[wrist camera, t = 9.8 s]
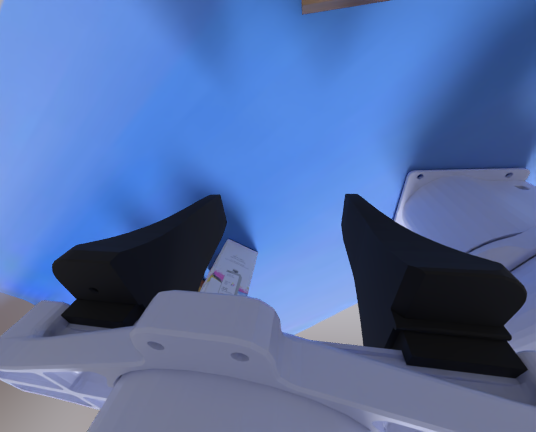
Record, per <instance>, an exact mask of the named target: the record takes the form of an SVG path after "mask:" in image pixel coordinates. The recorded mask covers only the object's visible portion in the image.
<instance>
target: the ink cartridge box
mask: <svg viewBox="0 0 536 432" xmlns="http://www.w3.org/2000/svg"><path fill="white" fill-rule="evenodd" d="M257 255H258V252H256V251H253V250H251V249H249V248H247V247H245V246H243V245H241V244H239V243H236V242H234V241H232V240H230V239H228V240H227V241H226V243H225V245H224V246H223V248H222V250H221V252H220V254H219V255H218V257H217V259H216V261H215V263H214V265H213V267H212V268H211V270H210V272H209V274H208V276H207V278H206V280H205V282H204V284H203V286H202V288H201V290H200V292H206V293H219V294H231V295H243V296H247V295H248V291H249V286H250V282H251V278H252V274H253V271H254V266H255V262H256V258H257Z"/></svg>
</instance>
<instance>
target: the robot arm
mask: <svg viewBox="0 0 536 432" xmlns="http://www.w3.org/2000/svg"><path fill="white" fill-rule="evenodd" d="M508 173H509V174H508ZM420 174H422V175H421V177H419V178H417V176H418V175H420ZM506 174H508V175H507V176H505V175H506ZM529 174H530V171H529V170H528V169H525V168H502V169H457V170H414V171H411V172H409V173H408V175H407V178H406V181H405V184H404V188H403V191H402V194H401V198H400V201H399V204H398V208H397V211H396V214H395V218H394V221H393V220H392V219H390V218H389V217H387V216H386V215H384V214H383V213H382V212H380V211H379V210H377V209H376V208H375V207H373V206H372V205H371V204H370V203H368V202H367V201H366V200H365V199H363V198H362V197H361V196H359V195H358V194H345V201H344V208H343V215H342V223H341V226H342V234H343V240H344V244H345V248H346V251H347V255H348V258H349V262H350V265H351V269H352V272H353V276H354V281H355V287H356V293H357V300H358V307H359V313H360V321H361V328H362V337H363V346H357V345H348V344H339V343H331V342H321V341H313V340H308V339H304V338H301V337H298V336H294V335H291V334H287V333H284V332H282V331H281V325H280V319H279V317H278V315H277V313H276V312H275V310H274V309H273V308H272V307H271V306H269V305H268V304H266V303H265V302H263V301H262V300H260V299H256V298H252V297H248V296H243V295H231V294H219V293H206V292H198V290H199V287H200V284H201V281H202V279H203V276H204V273H205V271H206V268H207V266H208V264H209V262H210V260H211V258H212V256H213V254H214V252H215V250H216V248H217V246H218V244H219V242H220V240H221V238H222V236H223V233H224V230H225V227H226V224H227V221H226V216H225V212H224V208H223V204H222V200H221V196H220V195H209V196H207V197H205V198H203V199H201V200H199V201H197V202H196V203H194V204H192V205H190V206H189V207H187V208H185V209H183V210H181V211H179V212H177V213H176V214H174V215H172V216H170V217H168V218H166V219H164V220H161V221H159V222H157V223H154V224H152V225H149V226H147V227H144V228H141V229H138V230H135V231H132V232H129V233H126V234H122V235H119V236H115V237H111V238H108V239H103V240H99V241H94V242H89V243H85V244H79V245H76V246H74V247H73V248H71V249H70V250H69V251H67V252H66V253H65V254H63V255H62V256H61V257H59V258H58V259H57V260H55V261H54V263H53V264H52V270H53V273H54V275H55V277H56V278H57V279H58V281H59V282H60V283H61V284H62V285H63V286H64V287H65V288H66V289H67V290H68V291H69V292H70V293H71V294H72V295H73V296H74V297H75V298H76V300H75V301H74V302H73V303H72V304H71V305H69V304H67V303H64V302H56V301H47V300H44V301H41V302H39V303H38V304H37V305H36V306H35V307H34V308H33V309H31V310H30V311H29V312H28V313H27V314H26V315H25V316H23V317H22V318H21V319H20V320H19V321H17V323H15V324H14V325H13V326H12V327H11V328H10V329H8V330H7V331H6V332H5V333H4V334H2V335H1V336H0V380H2V381H4V382H5V383H8V384H9V385H12V386H14V387H16V388H18V389H20V390H22V391H25V392H30V393H34V394H39V395H44V396H48V397H52V398H56V399H60V400H64V401H68V402H71V403H75V404H79V405H83V406H86V407H90V408H93V409H97V410H100V411H99V412H98V414H97V416H96V417H95V419H94V421H93V422H92V424H91V426H90V427H89V429H88V430H87V432H536V186H534V185H532V184H530V183H528V182H526V181H525V180H526V179H527V177H528V176H529Z"/></svg>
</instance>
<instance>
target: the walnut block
mask: <svg viewBox="0 0 536 432" xmlns="http://www.w3.org/2000/svg"><path fill="white" fill-rule="evenodd" d="M383 1H389V0H302V15H303V14H309V13H315V12H321V11H328V10H334V9H340V8H346V7H352V6H358V5H365V4H371V3H377V2H383Z"/></svg>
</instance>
